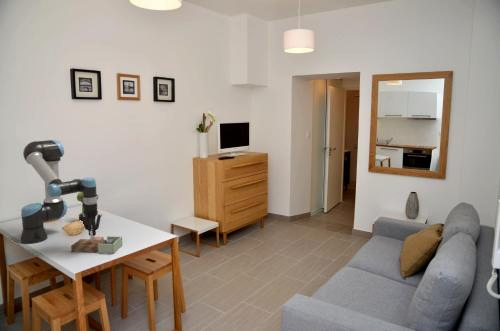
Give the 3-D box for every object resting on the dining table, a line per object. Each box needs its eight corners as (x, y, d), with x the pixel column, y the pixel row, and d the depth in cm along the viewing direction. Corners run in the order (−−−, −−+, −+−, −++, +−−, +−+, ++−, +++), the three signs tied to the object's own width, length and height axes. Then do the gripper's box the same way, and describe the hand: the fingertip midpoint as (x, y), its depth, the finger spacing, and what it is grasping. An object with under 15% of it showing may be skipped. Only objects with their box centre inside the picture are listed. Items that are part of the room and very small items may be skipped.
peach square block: (92, 244, 218) (91, 239, 217) (96, 241, 223) (95, 236, 222) (100, 244, 217) (99, 239, 217) (103, 241, 222) (103, 236, 222)
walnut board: (71, 252, 216) (71, 245, 215) (80, 245, 227) (80, 239, 226) (98, 252, 215) (98, 246, 214) (107, 245, 226) (106, 239, 225)
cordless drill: (104, 226, 262) (102, 193, 258) (95, 228, 257) (93, 195, 253) (85, 220, 275) (83, 188, 271) (77, 223, 269) (75, 190, 265)
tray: (98, 253, 214) (97, 244, 213) (108, 245, 227) (107, 236, 226) (113, 253, 214) (113, 244, 213) (122, 245, 227) (121, 236, 226)
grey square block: (105, 241, 217) (110, 242, 217) (109, 238, 222) (114, 239, 222) (104, 249, 218) (109, 250, 218) (108, 246, 223) (112, 247, 223)
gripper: (76, 204, 213) (79, 242, 216) (97, 205, 212) (100, 242, 216) (83, 201, 220) (85, 237, 224) (103, 201, 219) (105, 238, 223)
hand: (92, 240), depth 220 cm, fingers closed
